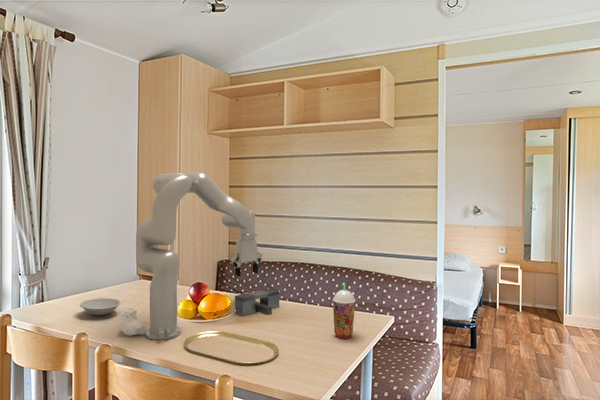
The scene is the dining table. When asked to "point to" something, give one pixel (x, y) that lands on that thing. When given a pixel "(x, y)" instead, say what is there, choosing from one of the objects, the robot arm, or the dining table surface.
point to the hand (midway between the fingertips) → (246, 274)
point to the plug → (262, 308)
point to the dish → (100, 305)
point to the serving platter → (234, 336)
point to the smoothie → (343, 313)
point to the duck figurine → (131, 323)
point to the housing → (247, 301)
